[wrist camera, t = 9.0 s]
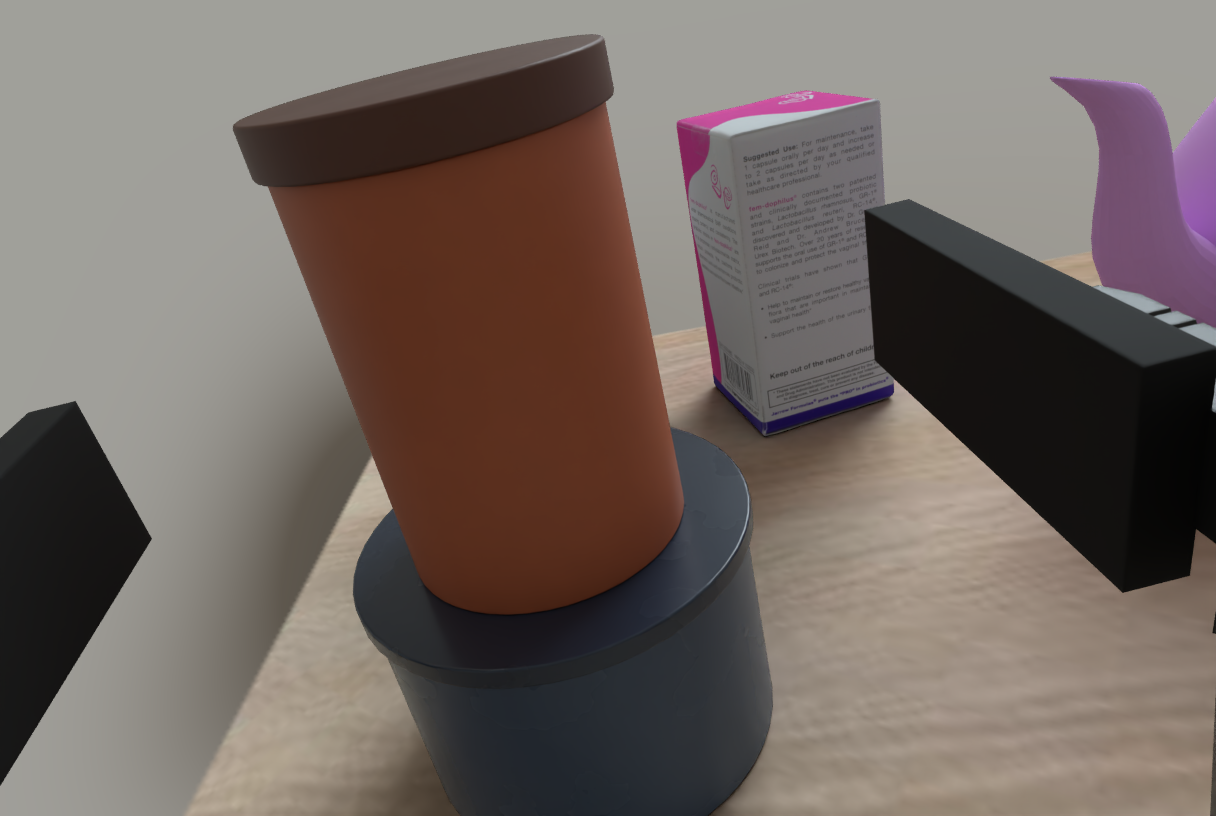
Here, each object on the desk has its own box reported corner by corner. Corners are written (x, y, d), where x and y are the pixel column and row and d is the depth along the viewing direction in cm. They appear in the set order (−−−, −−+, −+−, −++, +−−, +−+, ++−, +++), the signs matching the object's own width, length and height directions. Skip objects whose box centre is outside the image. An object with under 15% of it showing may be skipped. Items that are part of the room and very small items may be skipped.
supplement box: (902, 395, 34) (885, 94, 28) (763, 440, 33) (719, 139, 28) (831, 346, 39) (807, 83, 34) (710, 383, 38) (665, 120, 33)
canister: (481, 675, 16) (280, 133, 11) (369, 529, 21) (203, 122, 17) (755, 511, 19) (679, 22, 14) (594, 419, 24) (502, 44, 20)
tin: (532, 963, 17) (445, 757, 14) (381, 700, 25) (306, 532, 22) (861, 708, 21) (842, 507, 18) (644, 547, 28) (608, 389, 26)
